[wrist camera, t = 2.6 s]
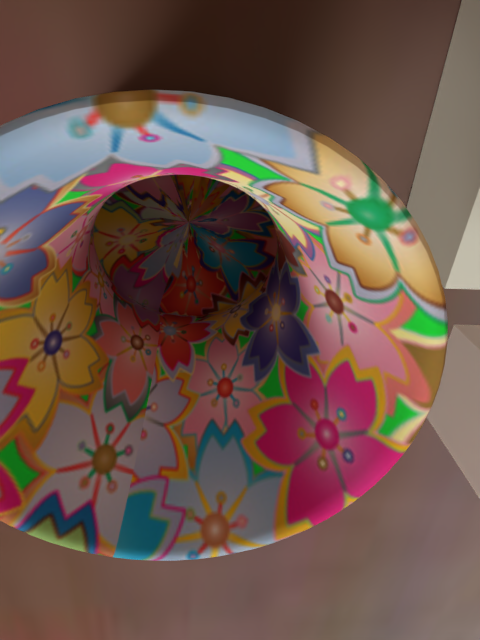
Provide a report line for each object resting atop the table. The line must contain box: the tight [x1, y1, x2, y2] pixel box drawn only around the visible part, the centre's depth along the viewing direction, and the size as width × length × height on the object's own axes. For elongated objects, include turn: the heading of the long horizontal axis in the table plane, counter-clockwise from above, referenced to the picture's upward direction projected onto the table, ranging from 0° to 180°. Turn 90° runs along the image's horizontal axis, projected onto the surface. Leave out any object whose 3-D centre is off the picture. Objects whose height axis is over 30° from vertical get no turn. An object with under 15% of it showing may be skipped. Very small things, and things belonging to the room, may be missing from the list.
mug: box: [0, 90, 448, 561], centre depth 12 cm, size 12×9×11 cm
